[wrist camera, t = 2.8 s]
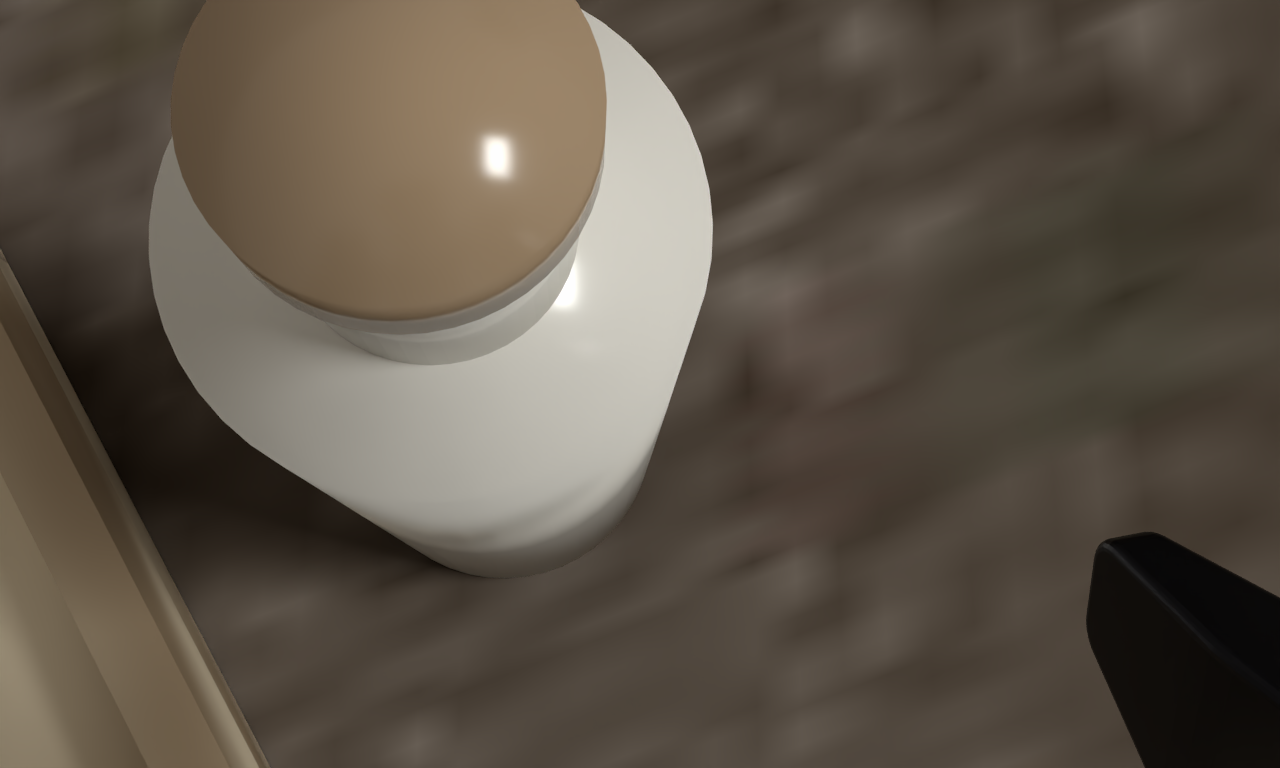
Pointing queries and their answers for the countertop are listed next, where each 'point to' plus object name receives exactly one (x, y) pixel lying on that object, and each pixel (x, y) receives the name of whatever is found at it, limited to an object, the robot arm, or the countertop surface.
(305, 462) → the bottle
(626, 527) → the countertop surface
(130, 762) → the tray
